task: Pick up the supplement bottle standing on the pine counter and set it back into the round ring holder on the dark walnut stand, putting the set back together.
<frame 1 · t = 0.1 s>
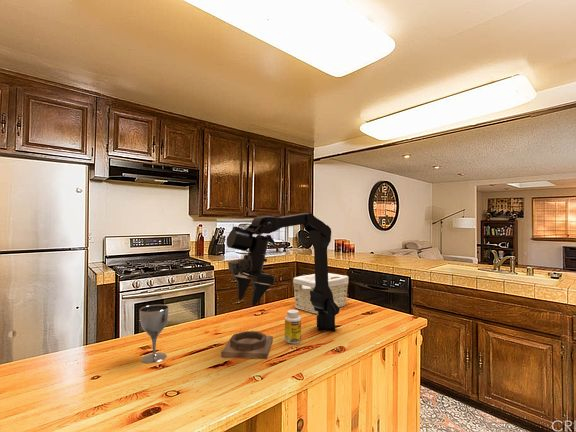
hand: (246, 302, 98), 15 cm above the counter, tool pointing down, fingers open, 9 cm apart
storage basket: (321, 307, 148), on the counter
walnut stand: (248, 348, 100), on the counter
supplement bottle: (293, 341, 106), on the counter
wine glass: (154, 358, 93), on the counter
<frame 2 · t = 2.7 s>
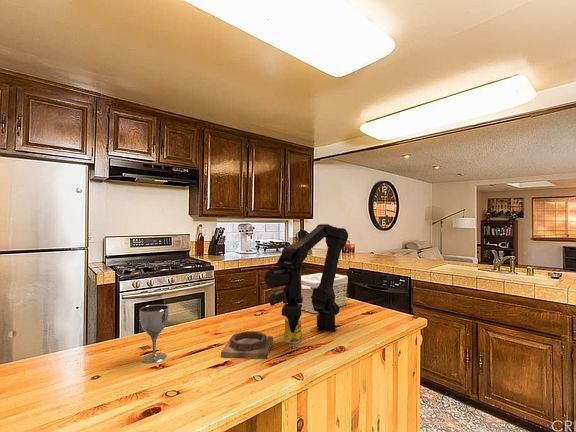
hand: (293, 329, 106), 4 cm above the counter, tool pointing down, fingers closed on supplement bottle, 6 cm apart
supplement bottle: (293, 341, 106), on the counter, touching gripper
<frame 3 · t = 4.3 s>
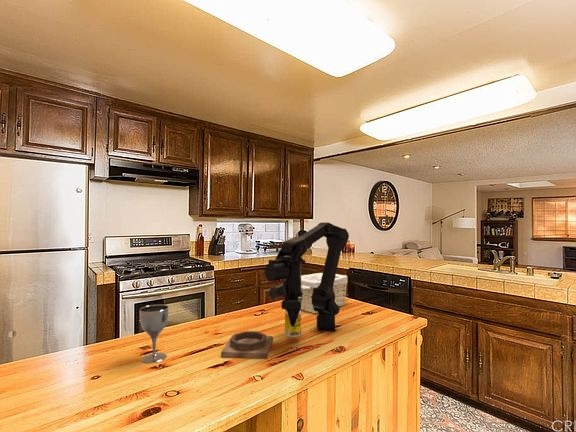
hand: (293, 322, 106), 6 cm above the counter, tool pointing down, fingers closed on supplement bottle, 6 cm apart
supplement bottle: (293, 335, 106), point 2 cm above the counter, touching gripper
everything else where it was.
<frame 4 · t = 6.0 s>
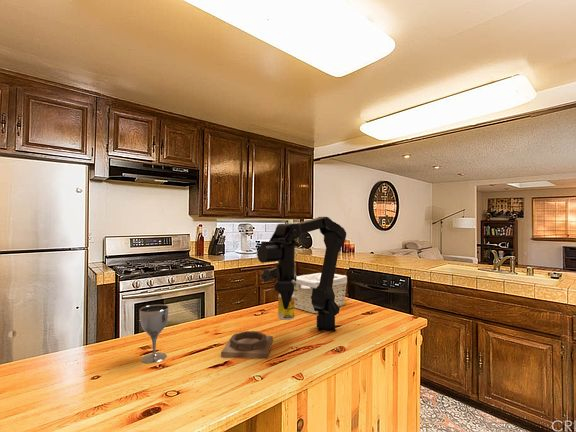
hand: (286, 306, 105), 12 cm above the counter, tool pointing down, fingers closed on supplement bottle, 6 cm apart
supplement bottle: (286, 318, 105), point 8 cm above the counter, touching gripper
everything else where it was.
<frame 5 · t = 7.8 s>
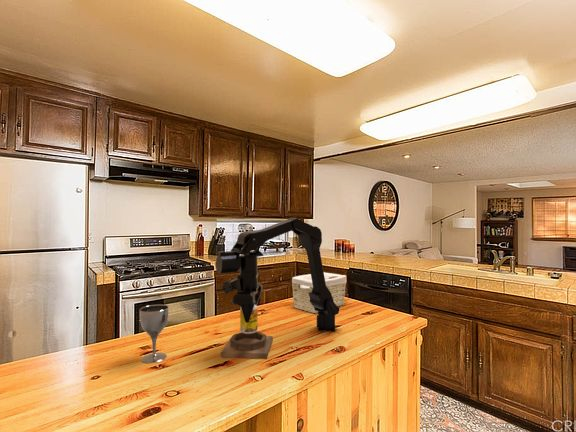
hand: (248, 318, 101), 9 cm above the counter, tool pointing down, fingers closed on supplement bottle, 6 cm apart
supplement bottle: (249, 331, 100), point 5 cm above the counter, touching gripper
when the fingers open (6 cm above the counter, at t = 9.2 s): supplement bottle stays where it is, resting on walnut stand.
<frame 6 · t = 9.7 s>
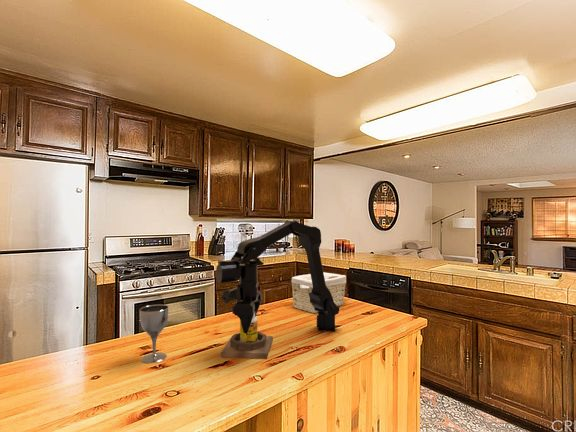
hand: (248, 328, 100), 6 cm above the counter, tool pointing down, fingers open, 9 cm apart
supplement bottle: (248, 344, 100), point 1 cm above the counter, touching walnut stand
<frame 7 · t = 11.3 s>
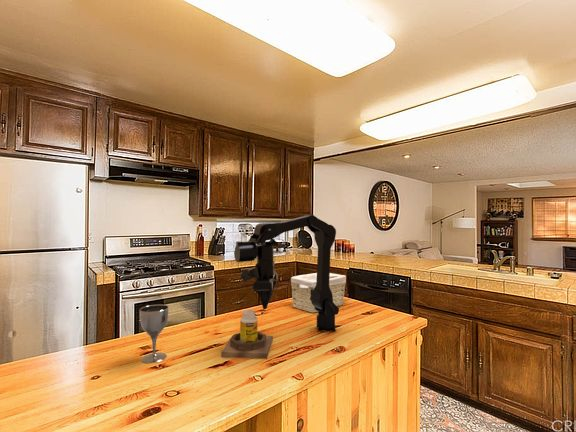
hand: (266, 304, 107), 12 cm above the counter, tool pointing down, fingers open, 9 cm apart
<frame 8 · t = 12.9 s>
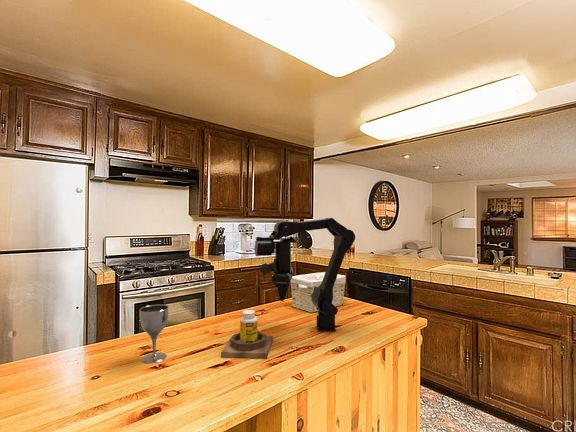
hand: (283, 297, 114), 13 cm above the counter, tool pointing down, fingers open, 9 cm apart
at the end: supplement bottle 0.1 cm off-centre on the walnut stand, point 1.3 cm above the walnut stand's base; supplement bottle tilted 0°; the gripper is holding nothing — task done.
